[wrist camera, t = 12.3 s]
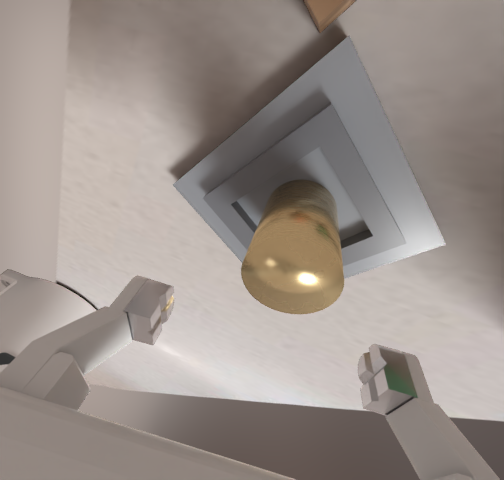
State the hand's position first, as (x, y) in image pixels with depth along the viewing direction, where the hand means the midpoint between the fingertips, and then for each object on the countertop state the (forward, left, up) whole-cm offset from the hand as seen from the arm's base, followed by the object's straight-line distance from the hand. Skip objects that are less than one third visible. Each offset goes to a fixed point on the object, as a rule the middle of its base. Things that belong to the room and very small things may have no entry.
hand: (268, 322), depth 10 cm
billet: (0, -1, -10) cm, 10 cm away
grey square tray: (0, -1, -11) cm, 11 cm away
